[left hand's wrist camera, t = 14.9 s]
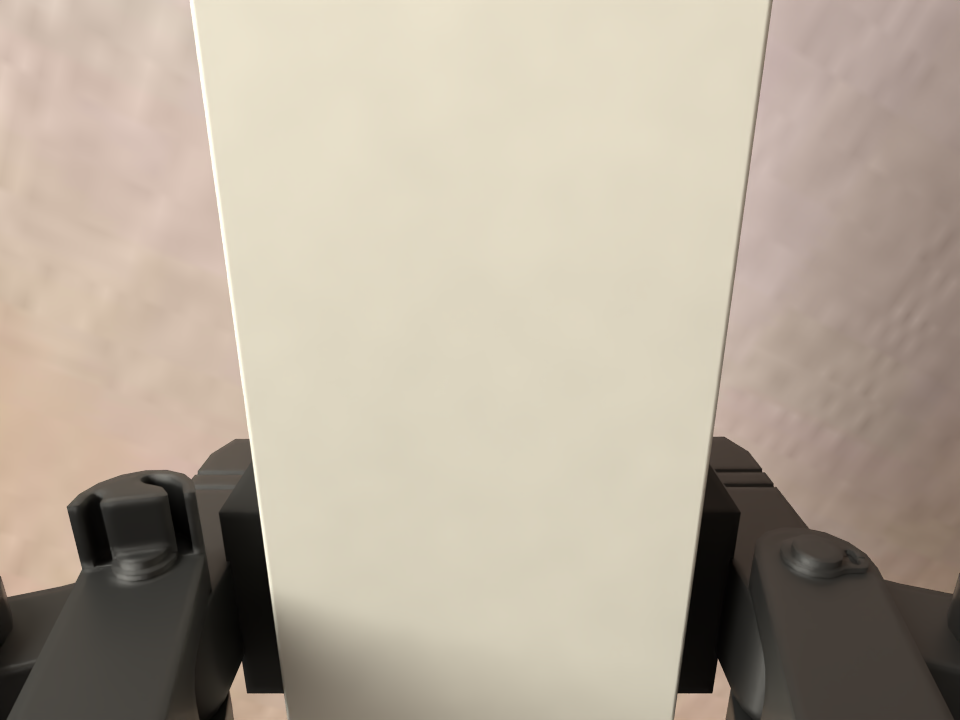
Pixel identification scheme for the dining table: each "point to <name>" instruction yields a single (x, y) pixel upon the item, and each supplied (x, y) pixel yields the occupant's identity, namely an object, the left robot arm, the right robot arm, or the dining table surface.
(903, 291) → the dining table surface
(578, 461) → the bar
